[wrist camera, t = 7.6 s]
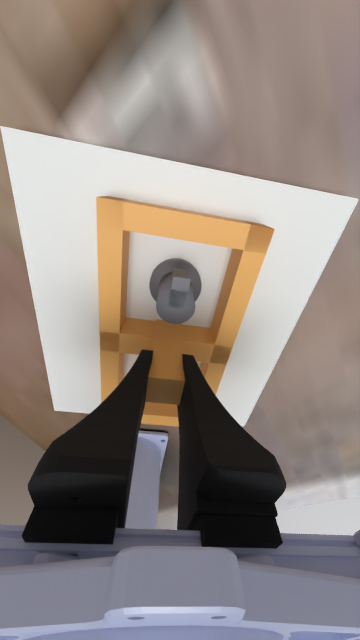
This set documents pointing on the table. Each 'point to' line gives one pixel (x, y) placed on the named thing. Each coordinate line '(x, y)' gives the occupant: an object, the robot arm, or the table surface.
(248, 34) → the table surface
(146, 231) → the orange link
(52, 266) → the board
